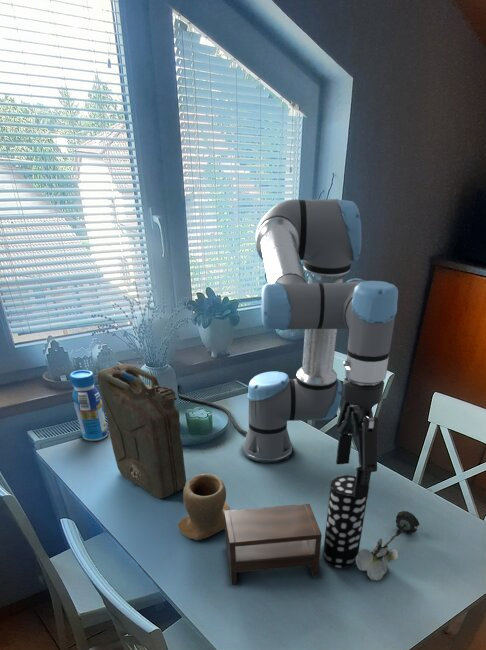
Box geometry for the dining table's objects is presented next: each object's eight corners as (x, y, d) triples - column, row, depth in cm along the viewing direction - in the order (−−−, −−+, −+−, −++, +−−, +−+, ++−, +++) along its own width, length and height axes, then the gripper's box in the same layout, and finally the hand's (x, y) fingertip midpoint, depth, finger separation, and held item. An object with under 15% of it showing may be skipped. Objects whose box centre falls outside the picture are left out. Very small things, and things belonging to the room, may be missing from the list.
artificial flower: (421, 541, 132) (437, 517, 123) (370, 593, 121) (384, 570, 113) (394, 520, 134) (408, 495, 126) (341, 569, 123) (353, 545, 115)
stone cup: (199, 551, 125) (194, 499, 115) (172, 528, 132) (165, 477, 121) (248, 527, 133) (247, 476, 122) (220, 507, 139) (217, 457, 129)
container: (114, 473, 151) (91, 369, 131) (142, 461, 157) (125, 359, 136) (162, 503, 140) (146, 395, 120) (191, 489, 146) (180, 383, 125)
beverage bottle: (76, 436, 167) (60, 374, 154) (97, 427, 172) (83, 366, 159) (93, 444, 164) (78, 381, 150) (114, 434, 169) (101, 373, 155)
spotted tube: (355, 570, 121) (367, 498, 107) (320, 565, 122) (328, 493, 109) (358, 548, 127) (370, 477, 113) (325, 543, 128) (332, 473, 115)
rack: (226, 551, 125) (223, 510, 117) (306, 544, 128) (309, 503, 120) (231, 584, 117) (229, 542, 108) (317, 575, 119) (321, 534, 111)
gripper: (328, 356, 104) (320, 452, 118) (365, 407, 86) (350, 513, 100) (363, 354, 105) (351, 450, 119) (407, 405, 87) (387, 510, 101)
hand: (350, 479), depth 110 cm, fingers open, 13 cm apart
